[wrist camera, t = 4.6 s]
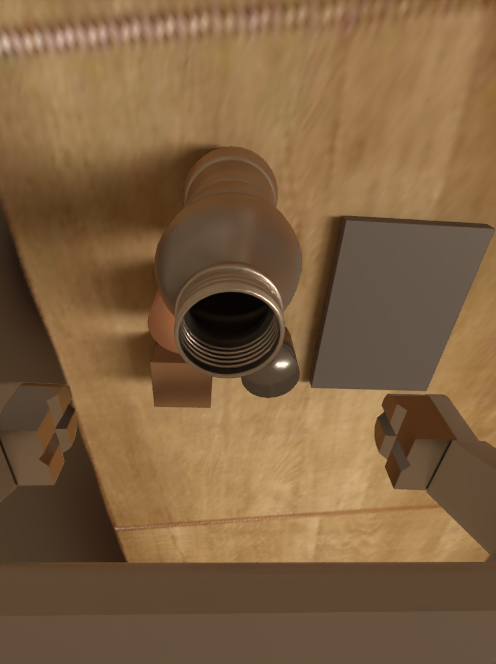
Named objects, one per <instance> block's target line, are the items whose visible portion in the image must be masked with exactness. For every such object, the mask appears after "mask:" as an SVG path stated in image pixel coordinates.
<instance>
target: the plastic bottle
mask: <svg viewBox="0 0 496 664" xmlns="http://www.w3.org/2000/svg"><path fill="white" fill-rule="evenodd" d="M277 200H278V187H277V183H276V178H275V176H274V174H273V172H272V169H271V168H270V167H269V165H268V164H267V162H266V161H265V160H263V159H262V158H261V157H260V156H259V155H257V154H256V153H254V152H252V151H251V150H247V149H244V148H241V147H232V146H231V147H222V148H218V149H215V150H212V151H210V152H209V153H207V154H205V155H204V156H202V157H201V158H200V159H199V160H198V161H197V162H196V163H195V164H194V165H193V167H192V168H191V170H190V171H189V173H188V175H187V178H186V180H185V184H184V188H183V205H184V208H183V209H182V210H181V211H180V212H179V213H178V214H176V216H175V217H174V218H173V220H172V221H171V222H170V223H169V225H168V226H167V228H166V229H165V231H164V232H163V234H162V236H161V239H160V241H159V243H158V245H157V249H156V254H155V262H154V272H155V277H156V281H157V286H158V289H159V293H160V295H161V297H162V299H163V302H164V304H165V305H166V307H167V308H168V309H169V311H170V312H171V313H172V314H173V315H174V316H175V324H174V339H175V344H176V347H177V349H178V352H179V354H180V355H181V357H182V358H183V359H184V361H185V362H186V363H188V364H189V365H190V366H191V367H192V368H194V369H196V370H197V371H199V372H201V373H204V374H206V375H209V376H213V377H218V378H236V377H242V376H246V375H249V374H252V373H254V372H256V371H258V370H260V369H262V368H263V367H265V366H266V365H267V364H269V363H270V362H271V361H272V360H273V359H274V358H275V356H276V355H277V354H278V352H279V350H280V348H281V346H282V344H283V340H284V336H285V322H284V318H283V312H284V310H285V309H286V308H287V306H288V305H289V303H290V302H291V300H292V298H293V296H294V294H295V292H296V289H297V286H298V283H299V279H300V275H301V270H302V254H301V249H300V244H299V241H298V239H297V237H296V234H295V232H294V230H293V228H292V227H291V225H290V224H289V222H288V221H287V220H286V218H285V217H284V216H283V214H282V213H281V212H280V211H279V210H278V209H277V208H276V206H277Z"/></svg>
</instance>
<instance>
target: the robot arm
mask: <svg viewBox="0 0 496 664" xmlns="http://www.w3.org/2000/svg"><path fill="white" fill-rule="evenodd" d="M71 398H72V394H71V390H70V387H69V386H68V385H66V384H47V383H28V382H27V383H26V382H25V383H20V382H19V383H18V382H3V383H1V384H0V502H1V501H2V500H3V499H4V498H5V497H6V496H8V495H9V494H10V493H11V492H12V491H13V490H14V489H16V485H54V484H55V481H56V479H57V477H58V475H59V472H60V470H61V468H62V466H63V463H64V458H63V454H62V453H63V452H65V451H66V450H68V449H69V448H70V447H71V445H72V443H73V441H74V438H75V434H76V428H77V416H76V411H75V409H74V408H72V407H71V406H70V405H69V402H70V400H71ZM382 407H383V409H384V411H385V412H384V413H383V414H381V415H380V416H379V417H377V421H376V424H375V442H376V446H377V448H378V451H379V453H380V454H381V455H383V456H384V457H385V458H386V459H387V462H386V465H385V469H386V471H387V473H388V476H389V478H390V481H391V483H392V486H393V488H394V489H408V490H427V493H428V494H429V495H430V496H431V497H432V498H433V499H434V500H435V501H436V502H437V503H438V504H439V505H440V506H441V507H442V508H443V509H444V510H445V511H446V512H447V513H448V514H449V515H450V516H451V517H452V518H453V519H454V520H455V521H456V522H457V523H458V524H460V525H461V526H462V527H463V528H464V529H465V530H466V531H467V532H468V533H469V534H470V535H471V536H472V537H473V538H474V539H475V540H476V541H477V542H478V543H479V544H480V545H481V546H482V547H483V548H484V549H485V550H486V551H487V552H488V553H489V554H490V555H489V556H488V558H487V559H486V560H485V562H288V563H0V664H496V448H495V447H493V446H492V445H490V444H489V443H487V442H485V441H479V440H478V439H477V437H476V436H475V435H474V433H473V432H472V430H471V429H470V427H469V426H468V425H467V423H466V422H465V420H464V419H463V417H462V416H461V415H460V413H459V412H458V410H457V409H456V408H455V406H454V405H453V403H452V402H451V400H450V399H449V398H448V397H447V396H445V395H437V394H425V395H414V394H387V395H386V397H385V398H384V400H383V403H382Z"/></svg>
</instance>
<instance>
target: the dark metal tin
mask: <svg viewBox="0 0 496 664" xmlns="http://www.w3.org/2000/svg"><path fill="white" fill-rule="evenodd" d="M299 375H300V371H299V367H298V363H297V359H296V355H295V351H294V347H293V343H292V339H291V335H290V333H289V331H288V329H287V328H286V327H285V336H284V340H283V344H282V346H281V348H280V350H279V352H278V354H277V355H276V356H275V358H274V359H273V360H272V361H271V362H270V363H269V364H267V365H266V366H265V367H263V368H262V369H260V370H258V371H256V372H254V373H252V374H249V375H246V376H242V377H241V380H242V383H243V385H244V387H245V388H246V389H247V390H248V391H249V392H250V393H252V394H254V395H256V396H259V397H266V398H271V397H277V396H281V395H283V394H285V393H287V392H289V391H290V390H291V389H292V388H293V387H294V386H295V385H296V384H297V382H298V380H299Z"/></svg>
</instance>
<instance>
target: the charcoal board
mask: <svg viewBox="0 0 496 664" xmlns="http://www.w3.org/2000/svg"><path fill="white" fill-rule="evenodd" d="M494 231H495V228H493V227H491V226H489V225H488V224H476V223H459V222H442V221H426V220H409V219H392V218H375V217H358V216H343V217H342V222H341V227H340V232H339V237H338V242H337V247H336V252H335V257H334V261H333V266H332V271H331V276H330V281H329V286H328V291H327V296H326V301H325V306H324V311H323V316H322V321H321V326H320V331H319V335H318V340H317V345H316V350H315V355H314V360H313V365H312V370H311V375H310V384H311V388H337V389H373V390H410V391H427V389H428V386H429V384H430V382H431V379H432V377H433V374H434V372H435V370H436V367H437V365H438V363H439V360H440V358H441V356H442V353H443V351H444V349H445V346H446V344H447V342H448V339H449V337H450V334H451V332H452V330H453V327H454V325H455V323H456V320H457V318H458V316H459V313H460V311H461V309H462V306H463V304H464V302H465V299H466V297H467V294H468V292H469V290H470V287H471V285H472V283H473V280H474V278H475V276H476V273H477V271H478V269H479V266H480V264H481V261H482V259H483V257H484V254H485V252H486V250H487V247H488V245H489V243H490V240H491V238H492V236H493V233H494Z"/></svg>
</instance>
